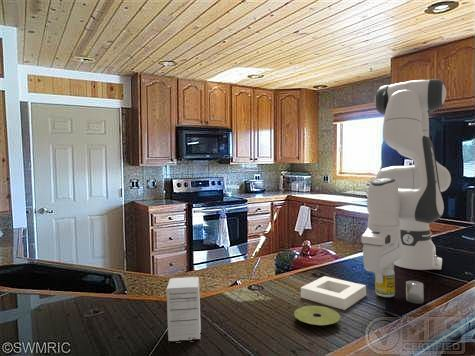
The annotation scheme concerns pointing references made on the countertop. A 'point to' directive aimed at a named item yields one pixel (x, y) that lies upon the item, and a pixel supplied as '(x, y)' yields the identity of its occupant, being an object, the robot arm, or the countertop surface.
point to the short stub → (414, 292)
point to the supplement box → (183, 309)
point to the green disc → (317, 315)
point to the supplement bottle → (386, 283)
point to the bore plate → (341, 300)
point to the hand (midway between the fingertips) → (384, 279)
